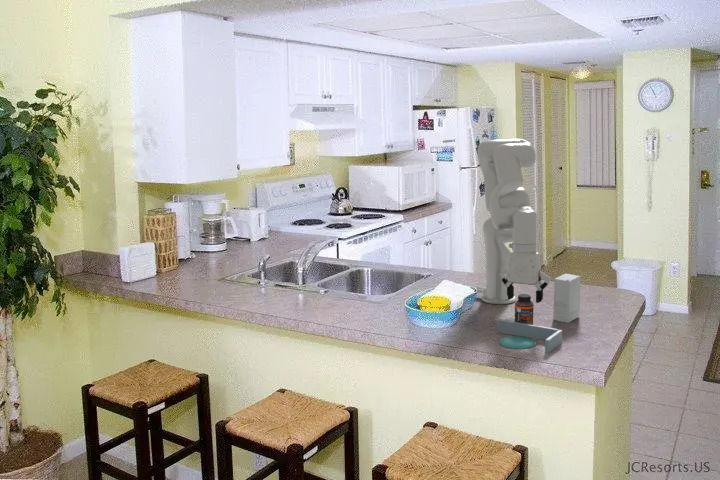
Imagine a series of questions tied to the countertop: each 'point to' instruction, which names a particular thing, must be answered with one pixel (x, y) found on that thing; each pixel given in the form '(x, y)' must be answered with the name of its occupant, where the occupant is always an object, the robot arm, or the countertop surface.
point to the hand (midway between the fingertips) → (524, 300)
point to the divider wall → (532, 332)
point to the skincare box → (566, 297)
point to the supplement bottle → (524, 309)
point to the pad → (517, 342)
